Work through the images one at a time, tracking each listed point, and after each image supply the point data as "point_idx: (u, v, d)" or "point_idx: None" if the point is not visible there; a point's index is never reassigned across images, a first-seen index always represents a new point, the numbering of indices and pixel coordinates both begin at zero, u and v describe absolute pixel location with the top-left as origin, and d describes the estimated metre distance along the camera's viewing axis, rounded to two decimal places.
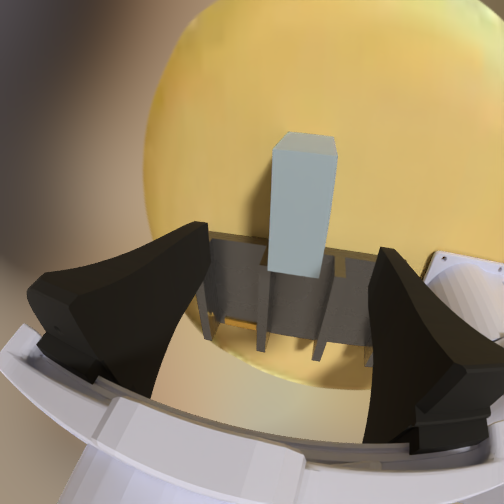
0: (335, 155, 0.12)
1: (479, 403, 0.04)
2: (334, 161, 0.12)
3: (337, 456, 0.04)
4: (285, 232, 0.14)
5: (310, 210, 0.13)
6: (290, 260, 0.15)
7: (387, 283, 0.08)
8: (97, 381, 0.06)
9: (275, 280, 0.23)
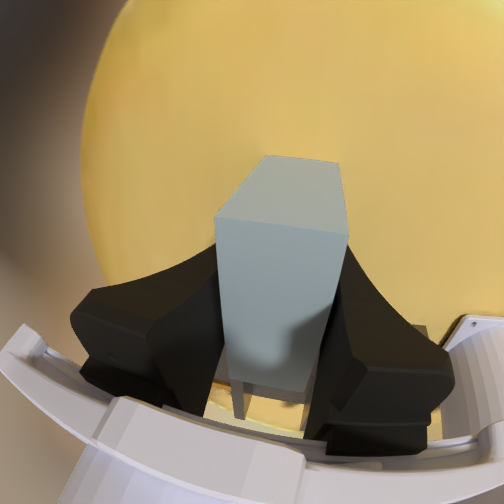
0: (344, 230, 0.06)
1: (410, 408, 0.04)
2: (341, 244, 0.06)
3: (337, 456, 0.04)
4: (250, 343, 0.08)
5: (291, 321, 0.07)
6: (260, 373, 0.09)
7: None
8: None
9: None
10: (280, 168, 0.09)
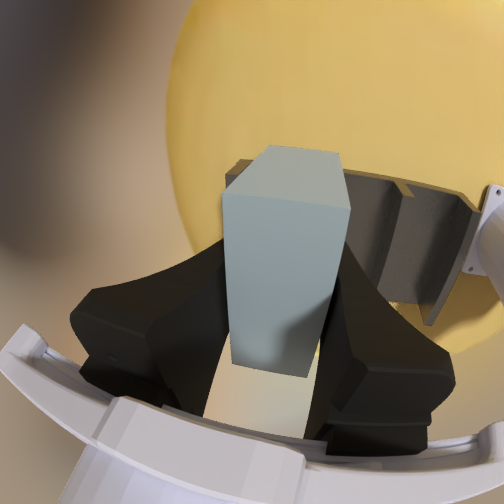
0: (346, 205, 0.06)
1: (410, 408, 0.04)
2: (343, 218, 0.06)
3: (337, 456, 0.04)
4: (254, 324, 0.09)
5: (295, 299, 0.08)
6: (264, 357, 0.10)
7: None
8: None
9: None
10: (283, 156, 0.10)
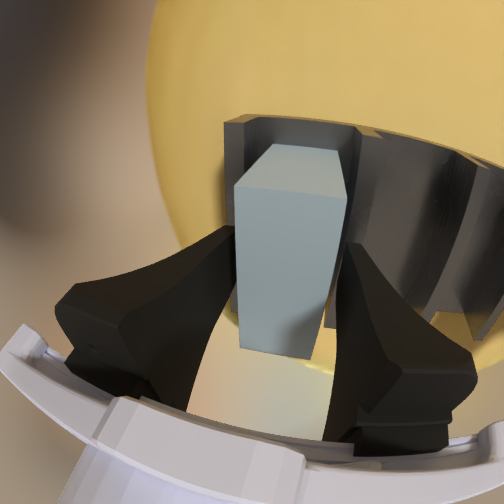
0: (343, 196, 0.07)
1: (434, 407, 0.04)
2: (341, 207, 0.07)
3: (337, 456, 0.04)
4: (261, 307, 0.09)
5: (299, 281, 0.08)
6: (270, 339, 0.10)
7: (348, 277, 0.09)
8: None
9: None
10: (286, 153, 0.10)
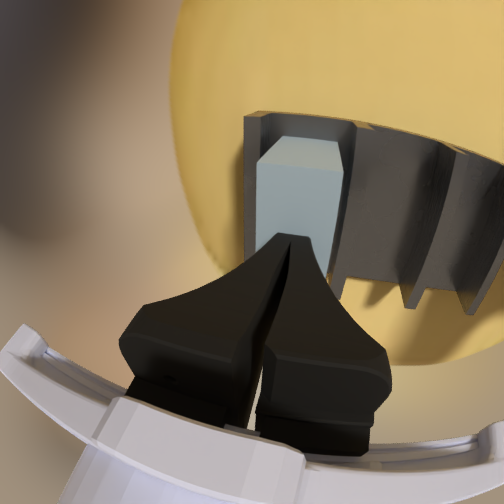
0: (340, 170, 0.09)
1: (345, 406, 0.04)
2: (339, 179, 0.09)
3: (337, 456, 0.04)
4: None
5: None
6: None
7: (288, 268, 0.09)
8: None
9: None
10: (294, 143, 0.12)
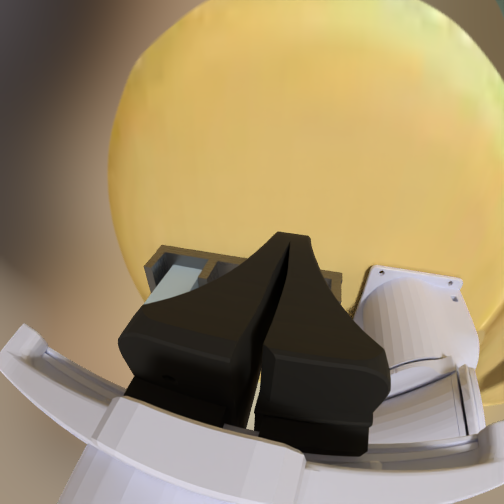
0: None
1: (344, 406, 0.04)
2: None
3: (337, 456, 0.04)
4: None
5: None
6: None
7: None
8: None
9: None
10: (172, 278, 0.23)
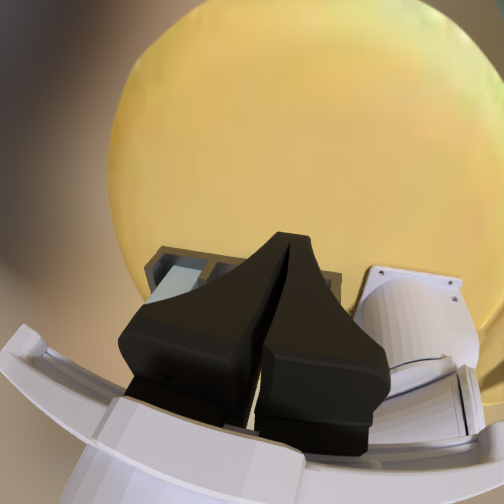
0: None
1: (344, 406, 0.04)
2: None
3: (337, 456, 0.04)
4: None
5: None
6: None
7: None
8: None
9: None
10: (172, 279, 0.23)
